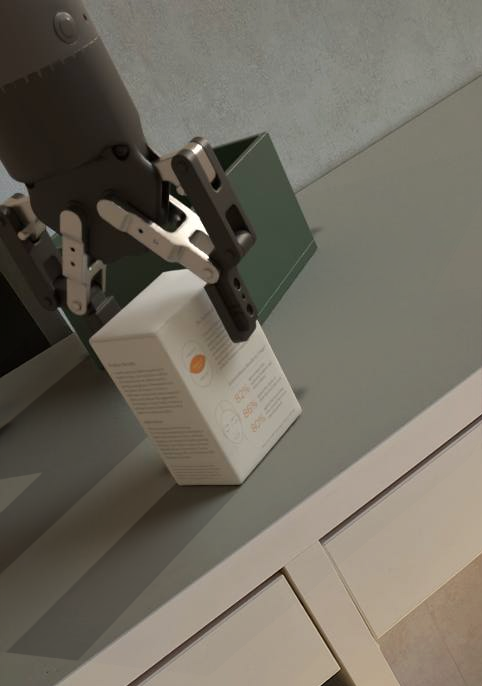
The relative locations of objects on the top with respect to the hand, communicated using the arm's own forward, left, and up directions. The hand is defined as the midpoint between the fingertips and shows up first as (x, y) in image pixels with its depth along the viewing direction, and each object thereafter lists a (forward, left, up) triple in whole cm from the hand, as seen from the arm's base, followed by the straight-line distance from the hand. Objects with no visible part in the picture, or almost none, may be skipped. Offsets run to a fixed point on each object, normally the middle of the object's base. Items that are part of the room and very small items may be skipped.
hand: (187, 348), depth 63 cm
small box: (0, 0, -7) cm, 7 cm away
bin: (-14, +24, -7) cm, 29 cm away
